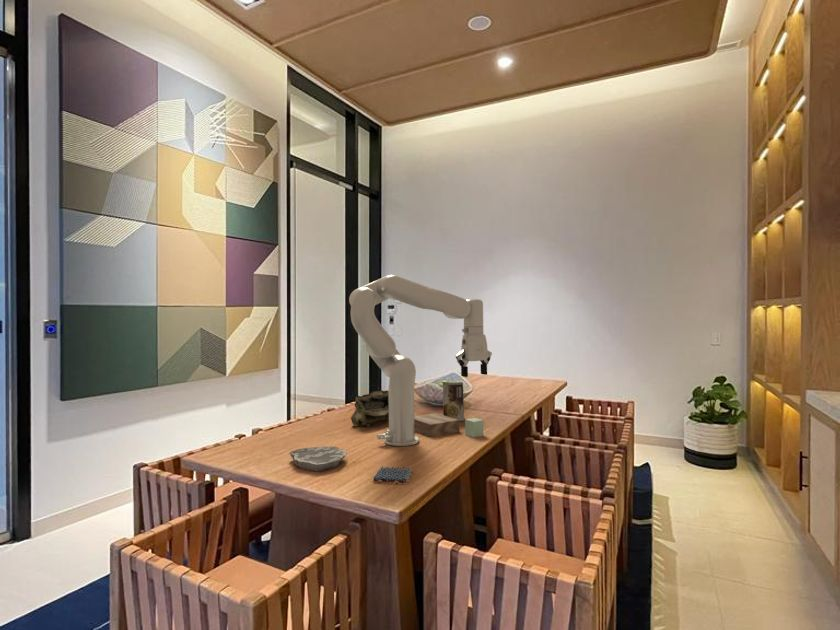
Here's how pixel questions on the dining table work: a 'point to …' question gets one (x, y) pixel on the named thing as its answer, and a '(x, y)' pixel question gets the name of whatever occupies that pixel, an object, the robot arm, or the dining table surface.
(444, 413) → the coffee box
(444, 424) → the block
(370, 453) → the dining table surface
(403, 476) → the bristly blue-grey mat
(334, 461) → the flat grey stone slab
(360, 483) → the dining table surface
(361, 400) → the hollow geode rock
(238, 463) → the dining table surface
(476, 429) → the sage block
